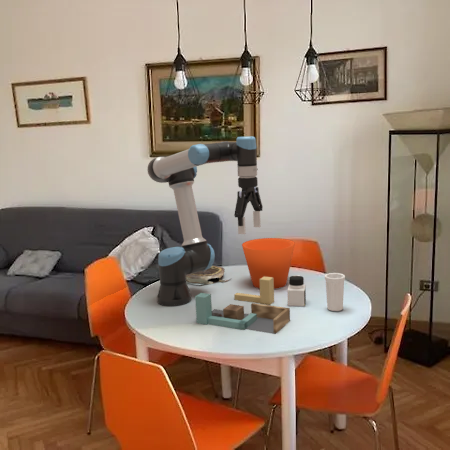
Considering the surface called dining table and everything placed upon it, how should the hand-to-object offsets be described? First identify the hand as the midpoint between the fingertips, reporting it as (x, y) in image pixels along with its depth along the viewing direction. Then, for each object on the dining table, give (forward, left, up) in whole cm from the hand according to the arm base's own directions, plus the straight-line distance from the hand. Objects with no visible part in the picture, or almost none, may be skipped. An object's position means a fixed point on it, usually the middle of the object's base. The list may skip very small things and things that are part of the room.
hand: (249, 230), depth 209 cm
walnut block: (-4, -9, -34) cm, 36 cm away
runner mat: (0, -9, -35) cm, 36 cm away
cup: (+29, +17, -35) cm, 49 cm away
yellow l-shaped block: (-7, +14, -35) cm, 38 cm away
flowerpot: (-10, +39, -35) cm, 53 cm away
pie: (-45, +38, -36) cm, 69 cm away
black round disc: (-13, -9, -35) cm, 38 cm away
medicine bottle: (+12, +18, -35) cm, 41 cm away
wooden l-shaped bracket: (+9, -9, -35) cm, 37 cm away
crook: (-6, -12, -34) cm, 37 cm away
